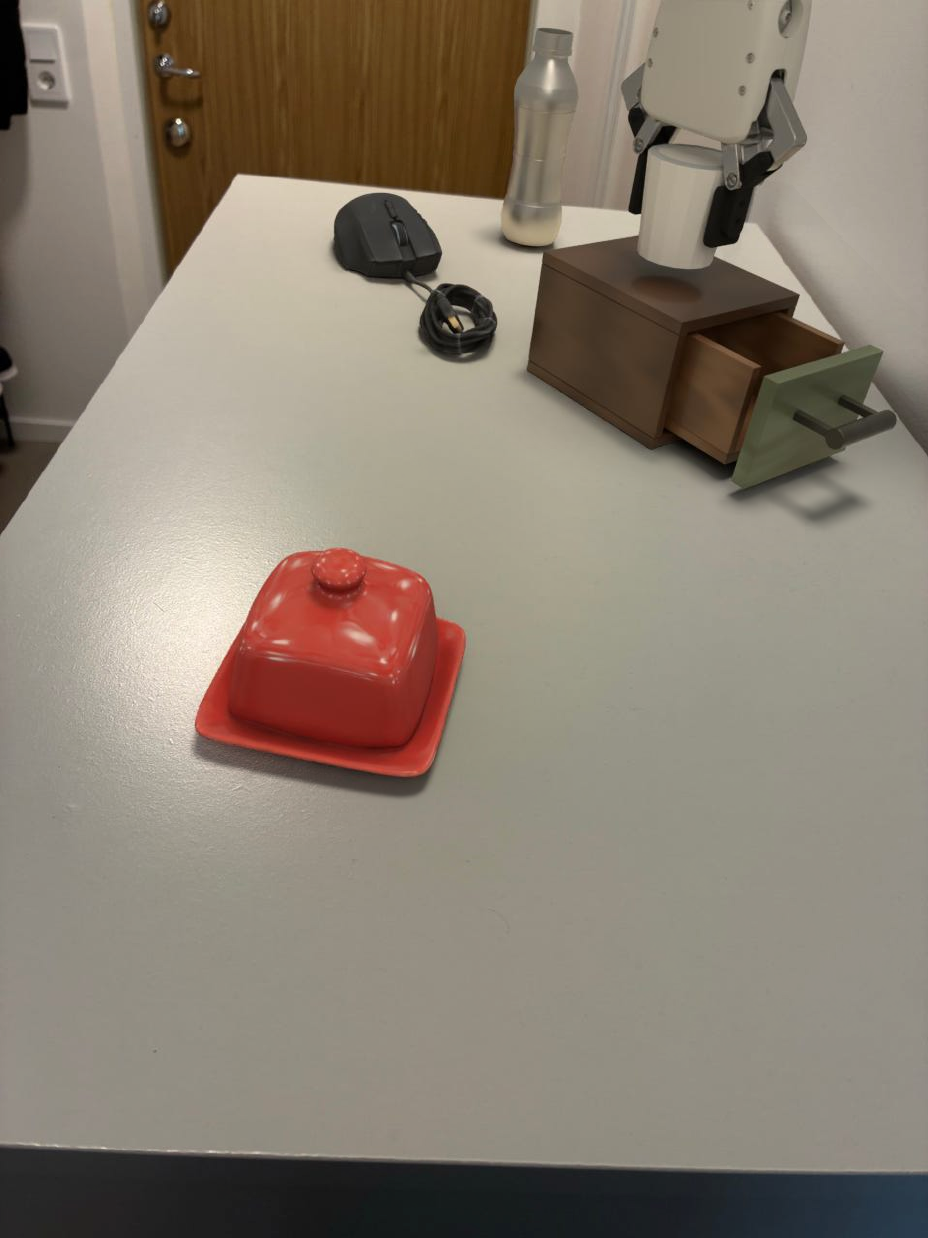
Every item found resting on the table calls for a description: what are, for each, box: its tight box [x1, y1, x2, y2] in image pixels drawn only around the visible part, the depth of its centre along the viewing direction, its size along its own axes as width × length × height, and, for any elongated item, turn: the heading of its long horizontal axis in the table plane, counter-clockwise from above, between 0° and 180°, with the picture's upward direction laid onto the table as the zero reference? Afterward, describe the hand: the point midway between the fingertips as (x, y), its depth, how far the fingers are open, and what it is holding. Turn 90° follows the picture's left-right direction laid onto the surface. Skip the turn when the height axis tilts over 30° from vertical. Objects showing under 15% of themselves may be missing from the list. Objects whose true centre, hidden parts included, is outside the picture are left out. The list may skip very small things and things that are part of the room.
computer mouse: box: [333, 192, 498, 354], centre depth 89 cm, size 10×32×6 cm, turn 24°
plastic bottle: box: [500, 27, 580, 247], centre depth 98 cm, size 6×7×20 cm
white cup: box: [637, 143, 745, 269], centre depth 69 cm, size 7×7×7 cm
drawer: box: [664, 311, 898, 490], centre depth 69 cm, size 18×12×8 cm, turn 36°
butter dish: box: [194, 547, 467, 778], centre depth 45 cm, size 12×12×8 cm
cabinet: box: [526, 234, 801, 450], centre depth 75 cm, size 15×13×10 cm
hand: (681, 225), depth 70 cm, fingers closed on white cup, 6 cm apart
